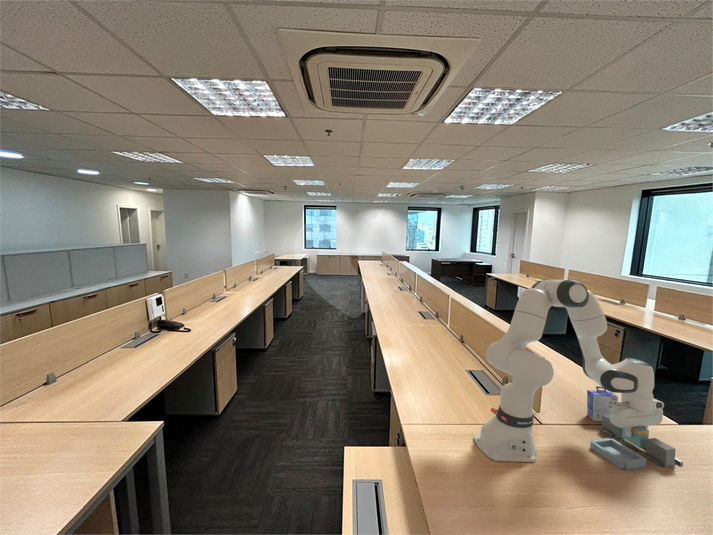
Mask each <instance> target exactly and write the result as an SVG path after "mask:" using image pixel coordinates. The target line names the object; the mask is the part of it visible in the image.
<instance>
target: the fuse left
mask: <svg viewBox="0 0 713 535" xmlns="http://www.w3.org/2000/svg"><path fill="white" fill-rule="evenodd" d="M610 415H611V414H606V415H602V421H601V427H603V428H605V429H607V430H608V431H610V432H612V433H613V434H614V437H613V438H615V439H623V438H622V429H623V428H619V427H617V426H615V425H613V424H612V423H611V422H610Z"/></svg>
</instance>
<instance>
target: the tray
mask: <svg viewBox="0 0 713 535" xmlns="http://www.w3.org/2000/svg"><path fill="white" fill-rule="evenodd" d="M589 445H590V447H589V448H590V449H592V451H594V452H596V453H597V454H599V455H601V457H603V458H605V459H606V460H608V461H609V462H610V463H612V464H613V465H615V466H616V467H618V468H619V469H621V470H626V471H629V470H630V471H631V470H637V469H638V470H639V469H644V468H646V466H647V459H646V458H645V456H643V455H640V454H639V453H637V452H635V451H633V450H631V449H630V448H628V447H626V446H625V445H623V444H622V443H621V442H619V441H617V439H614V438H609V437H607V438H606V437H605V438H599V439H598V438H597V439H591V441H590V444H589Z"/></svg>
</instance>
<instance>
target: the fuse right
mask: <svg viewBox="0 0 713 535" xmlns="http://www.w3.org/2000/svg"><path fill="white" fill-rule="evenodd" d="M646 453H647V454H649V455H651V456H653V457H654V458H656V459H658V460H659V461H661V462H662V466H661V467H664V468H665V469H666V468H672V467H675V465H676V463H675V458H676V448H675V447H673V446H671V445H669V444H667V443H665V442H663V441H662V440H660V439H658V438H656V437H652V438H651V437H650V438H648V439H646V449H645V454H646Z"/></svg>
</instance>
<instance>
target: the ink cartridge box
mask: <svg viewBox="0 0 713 535" xmlns="http://www.w3.org/2000/svg"><path fill="white" fill-rule="evenodd" d="M595 388H596V390H593V389H587V391H586V392H587V396H586V400H587V401H586V402H587V403H586V405H587V406H586V408H587V409H586V410H587V411H586V415H587V417H589V419H590V420H591V421H596V422H602V415H606V414H611V410H612V407H613V406H614V405H615V404H616V403H617V402H619V396H617V395H616V394H615V393H614V392H610V391H608V390H606V389H604V388H603V387H602V386H600V385H599V386H598V385H596V386H595Z"/></svg>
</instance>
